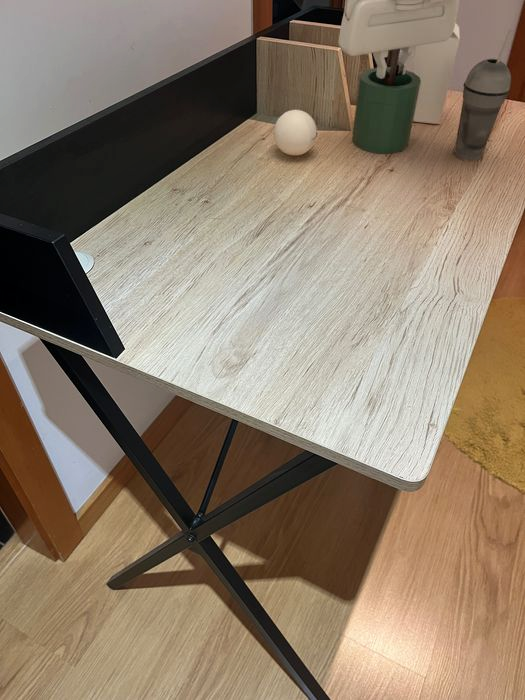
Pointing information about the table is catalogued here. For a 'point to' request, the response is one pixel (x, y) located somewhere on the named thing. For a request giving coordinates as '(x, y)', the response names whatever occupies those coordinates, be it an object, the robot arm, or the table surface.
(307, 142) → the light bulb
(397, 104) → the jar
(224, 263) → the table surface
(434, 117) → the milk carton
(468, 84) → the beverage cup
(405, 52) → the robot arm
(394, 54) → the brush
